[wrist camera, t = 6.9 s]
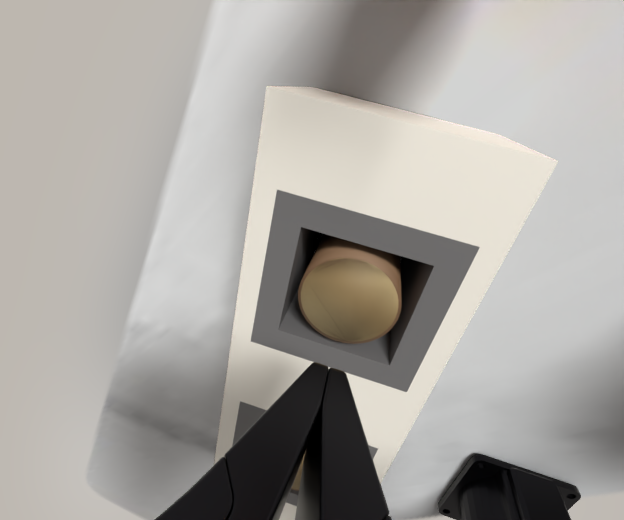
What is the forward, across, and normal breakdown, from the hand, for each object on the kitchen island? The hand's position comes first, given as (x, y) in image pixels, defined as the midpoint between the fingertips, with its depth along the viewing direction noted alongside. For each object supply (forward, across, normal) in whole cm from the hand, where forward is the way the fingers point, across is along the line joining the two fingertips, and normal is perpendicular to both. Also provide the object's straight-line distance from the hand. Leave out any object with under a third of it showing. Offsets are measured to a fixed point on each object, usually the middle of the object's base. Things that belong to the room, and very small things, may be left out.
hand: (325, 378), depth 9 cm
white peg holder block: (+10, 0, +5) cm, 11 cm away
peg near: (+10, 0, 0) cm, 10 cm away
